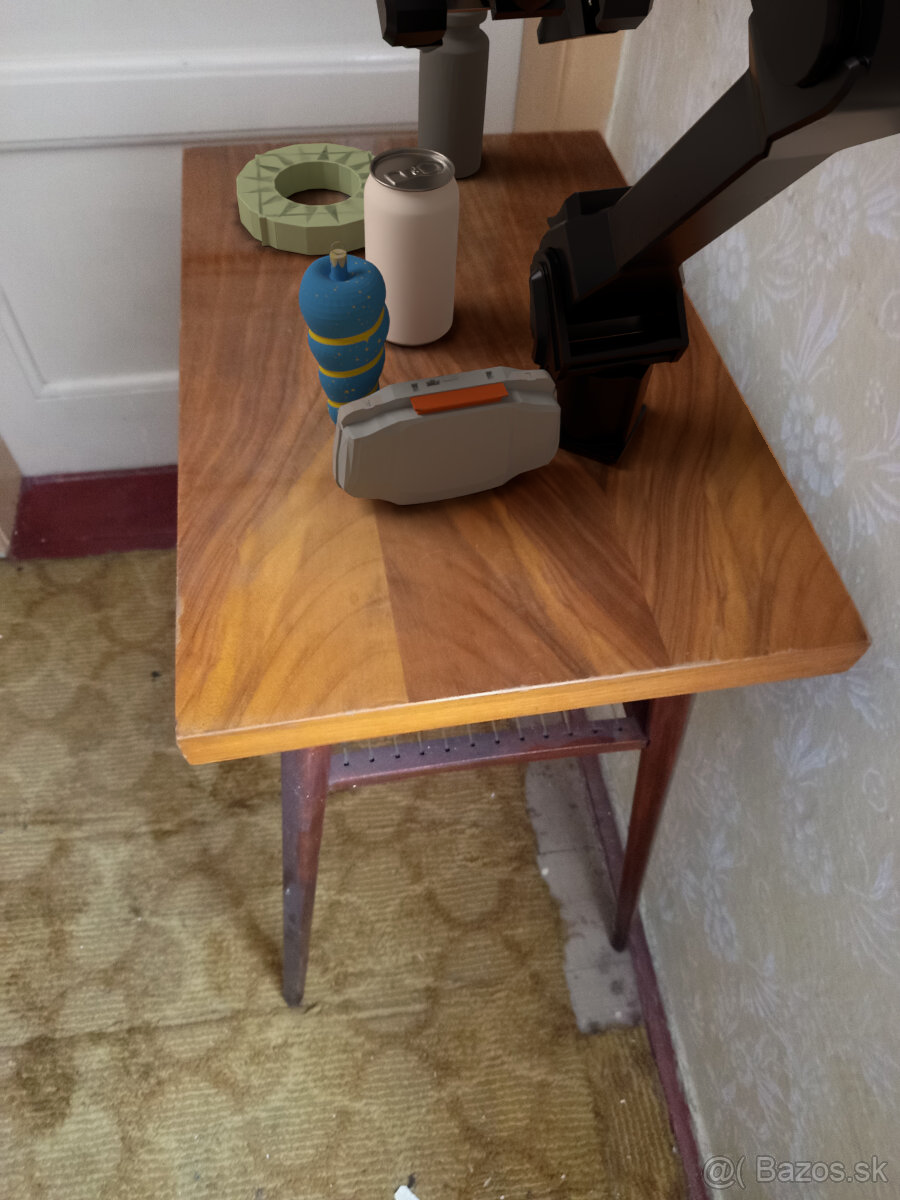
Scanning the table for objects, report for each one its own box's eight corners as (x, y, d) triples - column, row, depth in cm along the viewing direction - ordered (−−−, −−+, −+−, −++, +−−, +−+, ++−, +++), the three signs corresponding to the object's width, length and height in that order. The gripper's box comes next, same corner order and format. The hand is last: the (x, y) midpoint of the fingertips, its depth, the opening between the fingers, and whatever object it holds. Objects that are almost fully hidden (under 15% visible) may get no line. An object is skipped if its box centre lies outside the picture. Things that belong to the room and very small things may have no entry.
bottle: (474, 183, 82) (487, -5, 70) (410, 174, 83) (413, -15, 71) (485, 152, 86) (500, -33, 74) (424, 143, 86) (429, -42, 74)
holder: (387, 168, 83) (387, 140, 81) (406, 251, 75) (406, 222, 73) (239, 173, 81) (235, 145, 80) (242, 258, 74) (237, 229, 72)
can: (469, 331, 69) (480, 177, 60) (396, 359, 67) (396, 203, 57) (422, 288, 72) (426, 134, 63) (351, 313, 70) (344, 158, 60)
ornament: (396, 472, 60) (395, 267, 48) (316, 479, 59) (296, 272, 47) (386, 419, 63) (383, 214, 51) (310, 425, 62) (290, 218, 50)
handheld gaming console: (542, 450, 62) (559, 353, 55) (558, 480, 60) (577, 384, 54) (332, 488, 59) (324, 390, 52) (342, 521, 57) (335, 424, 51)
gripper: (678, -240, 55) (582, -80, 70) (371, -237, 51) (340, -69, 66) (701, -38, 56) (602, 75, 71) (406, -21, 52) (368, 94, 68)
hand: (482, 41), depth 69 cm, fingers open, 9 cm apart
